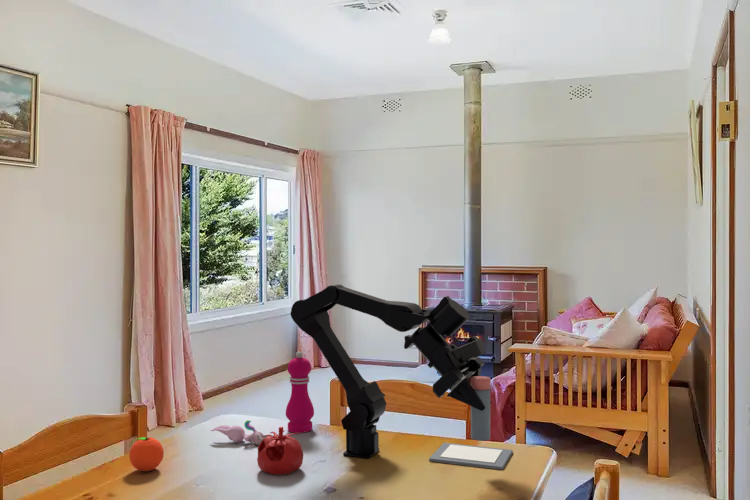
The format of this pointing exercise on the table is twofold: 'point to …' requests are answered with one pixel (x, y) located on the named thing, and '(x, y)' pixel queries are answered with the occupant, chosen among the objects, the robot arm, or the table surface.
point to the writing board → (472, 455)
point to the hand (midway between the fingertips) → (486, 407)
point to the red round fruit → (279, 454)
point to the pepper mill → (299, 396)
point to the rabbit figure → (241, 433)
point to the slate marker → (479, 418)
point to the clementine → (146, 453)
